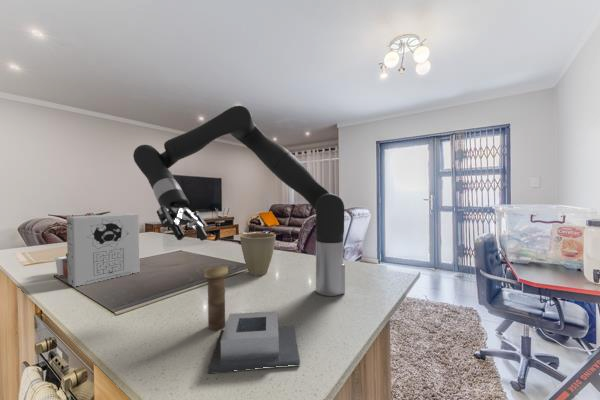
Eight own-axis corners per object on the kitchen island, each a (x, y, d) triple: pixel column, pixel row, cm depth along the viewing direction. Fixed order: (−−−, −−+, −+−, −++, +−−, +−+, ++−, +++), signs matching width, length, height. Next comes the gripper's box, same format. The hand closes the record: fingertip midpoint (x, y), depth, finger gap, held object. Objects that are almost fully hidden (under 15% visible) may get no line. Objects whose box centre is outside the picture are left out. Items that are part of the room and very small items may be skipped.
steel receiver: (293, 330, 62) (293, 309, 62) (299, 366, 50) (299, 339, 49) (221, 335, 60) (221, 313, 60) (208, 373, 48) (208, 345, 47)
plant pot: (275, 278, 102) (275, 237, 102) (237, 279, 101) (237, 238, 101) (276, 267, 117) (276, 232, 117) (243, 268, 116) (242, 232, 116)
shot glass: (58, 277, 104) (58, 259, 104) (52, 274, 107) (52, 257, 107) (80, 272, 110) (79, 256, 109) (73, 270, 113) (73, 254, 113)
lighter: (67, 278, 102) (66, 253, 102) (60, 278, 102) (59, 253, 102) (87, 272, 110) (87, 249, 110) (81, 272, 110) (80, 248, 110)
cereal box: (132, 269, 114) (131, 213, 113) (139, 272, 110) (139, 213, 109) (67, 283, 96) (66, 216, 96) (74, 287, 92) (72, 217, 91)
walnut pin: (229, 320, 68) (229, 265, 67) (226, 331, 62) (225, 271, 62) (207, 321, 67) (207, 266, 67) (202, 333, 62) (201, 272, 61)
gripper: (158, 183, 71) (182, 228, 66) (196, 192, 84) (219, 231, 79) (141, 201, 73) (163, 247, 67) (181, 207, 86) (202, 246, 80)
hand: (193, 238), depth 73 cm, fingers open, 8 cm apart
